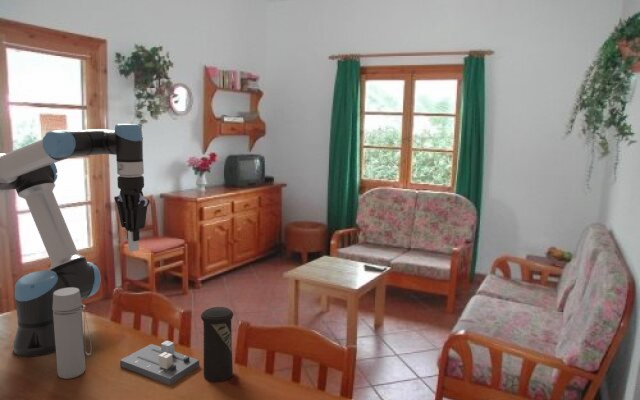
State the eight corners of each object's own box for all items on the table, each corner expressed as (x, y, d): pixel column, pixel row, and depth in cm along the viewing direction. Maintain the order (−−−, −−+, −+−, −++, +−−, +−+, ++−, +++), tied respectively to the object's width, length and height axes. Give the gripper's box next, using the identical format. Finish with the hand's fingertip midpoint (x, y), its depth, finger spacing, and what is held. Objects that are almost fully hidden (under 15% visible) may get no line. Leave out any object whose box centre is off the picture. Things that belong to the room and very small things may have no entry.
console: (120, 366, 143) (119, 356, 142) (151, 349, 153) (151, 340, 152) (169, 385, 133) (169, 374, 133) (199, 366, 144) (199, 356, 143)
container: (226, 385, 134) (226, 318, 131) (197, 380, 136) (195, 314, 133) (238, 369, 143) (237, 306, 139) (209, 365, 144) (209, 303, 141)
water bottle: (57, 383, 133) (50, 298, 128) (57, 369, 140) (51, 288, 135) (93, 375, 137) (88, 293, 133) (92, 363, 144) (87, 284, 139)
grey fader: (161, 354, 146) (160, 343, 145) (167, 351, 148) (166, 340, 147) (168, 356, 144) (168, 345, 144) (174, 353, 146) (174, 342, 146)
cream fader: (159, 366, 139) (158, 355, 138) (165, 362, 141) (164, 351, 140) (166, 369, 137) (166, 357, 137) (172, 365, 139) (172, 354, 139)
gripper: (105, 174, 144) (109, 250, 148) (135, 178, 138) (139, 256, 142) (125, 172, 151) (129, 244, 155) (155, 175, 145) (158, 250, 149)
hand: (133, 250), depth 149 cm, fingers closed
